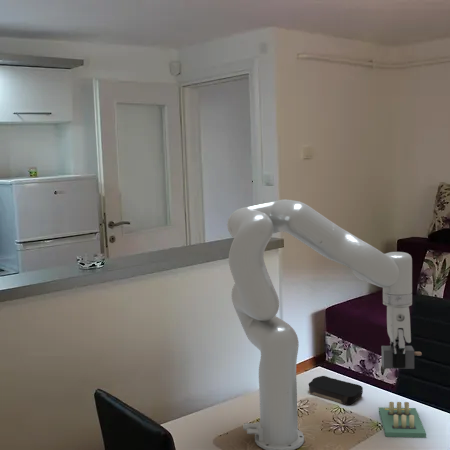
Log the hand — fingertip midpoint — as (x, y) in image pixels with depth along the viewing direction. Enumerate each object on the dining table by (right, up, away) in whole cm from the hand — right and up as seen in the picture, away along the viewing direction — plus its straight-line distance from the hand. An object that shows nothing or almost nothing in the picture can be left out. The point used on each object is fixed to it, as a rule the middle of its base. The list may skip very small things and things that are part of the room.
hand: (397, 363), depth 162 cm
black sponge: (-14, -14, +18) cm, 27 cm away
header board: (0, -16, -2) cm, 16 cm away
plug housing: (+1, -1, 0) cm, 1 cm away
